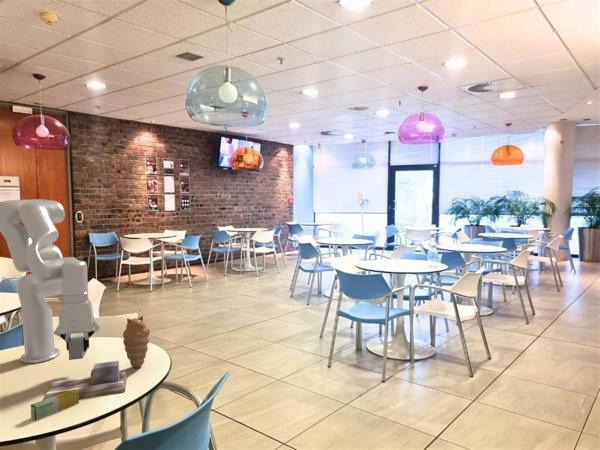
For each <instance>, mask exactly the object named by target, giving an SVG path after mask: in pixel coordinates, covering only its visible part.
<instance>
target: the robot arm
mask: <svg viewBox="0 0 600 450" xmlns="http://www.w3.org/2000/svg"><path fill="white" fill-rule="evenodd" d="M65 216H66V212H65V208H64V206H63V205H62V204H61V203H60V202H59V201H57V200H49V199H44V198H43V199H42V198H40V199H39V198H38V199H37V198H36V199H11V200H9V199H8V200H4V201H1V202H0V233H1V234H2V237H4V239H5V241H6V243H7V244H6V245H7V247H8V250H9V252H10V253H9V254H10V257H11V260H12V263H13V266H14V268H15V270H17V271H18V272H19V273H29V274H25V275H23V276H22V277H21V276H20V278H18V280H17V282H16V286H15V288H16V291H17V295H18V299H19V303H20V304H19V305H20V309H21V319H22V334H23V343H24V344H23V345H24V353H23V354H22V355H21V356H20V357H19V359H20V362H21V363H23V364H36V363H37V364H38V363H42V362H46V361H49V360H52V359H54V358H55V359H56V358H57V357H58V356H59V355H60V353H61V352H60V351H61V350H60V349H59V348H56V347H55V346H56V345H55V335H56V336H58V337H60V338H61V339H62V340H64V341H65V342H66V344H65V345H66V351H69V341H70V339H71V338H72V337H71V336H72V335H73V334H80V333H81V334H82V333H83V336H84V337H85V338H84V352H86V353H87V351H88V349H90V338H91V337H92V336H93V335H94V334H96V333H97V332H98V331H100V329H101V326H100V325H99V324H98V323H97V322H96V320H95V318H94V317H95V316H94V308H93V305H92V304H93V303H92V302H91V299H89V282H88V266H87V262H86V261H84V260H79V259H78V258H76V257H74V256H68V257H63V253H62V251H61V250H60V248H59V247H58V246H57V245H55V244H53V243H56V241H57V240H58V238H59V236H60V235H59V231H58V229H57V228H56V226H55V224H60V223H62V222H63V221H64V220H65V218H66V217H65ZM20 223H22V224H20ZM54 296H57V301H62V302H61V303H60V304H59V308H58V325H57V327H56V328H55V330H54V319H53V309H52V306H51V305H50V304H49V303H48V302H47V301H46V300H45V298H49V297H54ZM65 342H64V343H65Z"/></svg>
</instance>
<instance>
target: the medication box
mask: <svg viewBox="0 0 600 450" xmlns="http://www.w3.org/2000/svg"><path fill="white" fill-rule="evenodd" d="M79 403H80V399H79V391H77V390H76V389H73V390H70V391H68V392H65V393H62V394H59V395H57V396H54V397H51V398H48V399H45V400H44V399H43V400H41V401H38V402H34V403H31V404H30V419H31V420H33V421H37V420H40V419H42V418H43V419H44V418H45V417H48V416H50V415H53V414H55V413H57V412H60V411H63V410H65V409H68V408H71V407H72V406H75V405H77V404H79Z"/></svg>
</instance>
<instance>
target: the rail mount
mask: <svg viewBox="0 0 600 450" xmlns="http://www.w3.org/2000/svg"><path fill="white" fill-rule="evenodd" d="M127 380H128V372H126V371H121V372H120V362H119V360H113V361H105V362H99V363H94V365H93V367H92V369H91V372H90V376H84V377H79V378H70V379H64V380H57V381H52V382H51V385H50V387H49V389H48V391H47V392H46V393H45V397H44V399H43V400H45V399H48V398H51V397H54V396H57V395H59V394H62V393H65V392H68V391H70V390H73V389H76V390H77V391H79V400H80V399H85V398H86V399H87V398H93V397H98V396H99V397H100V396H105V395H106V396H107V395H112V394H113V395H114V394H119V393H125V392H126V388H127V387H126V386H127Z"/></svg>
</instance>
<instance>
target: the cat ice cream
mask: <svg viewBox="0 0 600 450" xmlns="http://www.w3.org/2000/svg"><path fill="white" fill-rule="evenodd" d="M126 322H127V323H126V325H125V329H124V330H123V333H122V336H123V345H124V352H125V353H126V357H127V359H128V361H129V362H130V366H131V367H132V368H136V369H137V368H140V367H142V366H143V365H144V363H145V358H146V357H147V352H148V349H149V346H148V344H149V342H150V338H149V335H150V333H151V332H150V331H151V330H150V328H149V327H148V326H146V324H145V322H144V315H141V316H140V317H139V318H137V317H134V318H126Z"/></svg>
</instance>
